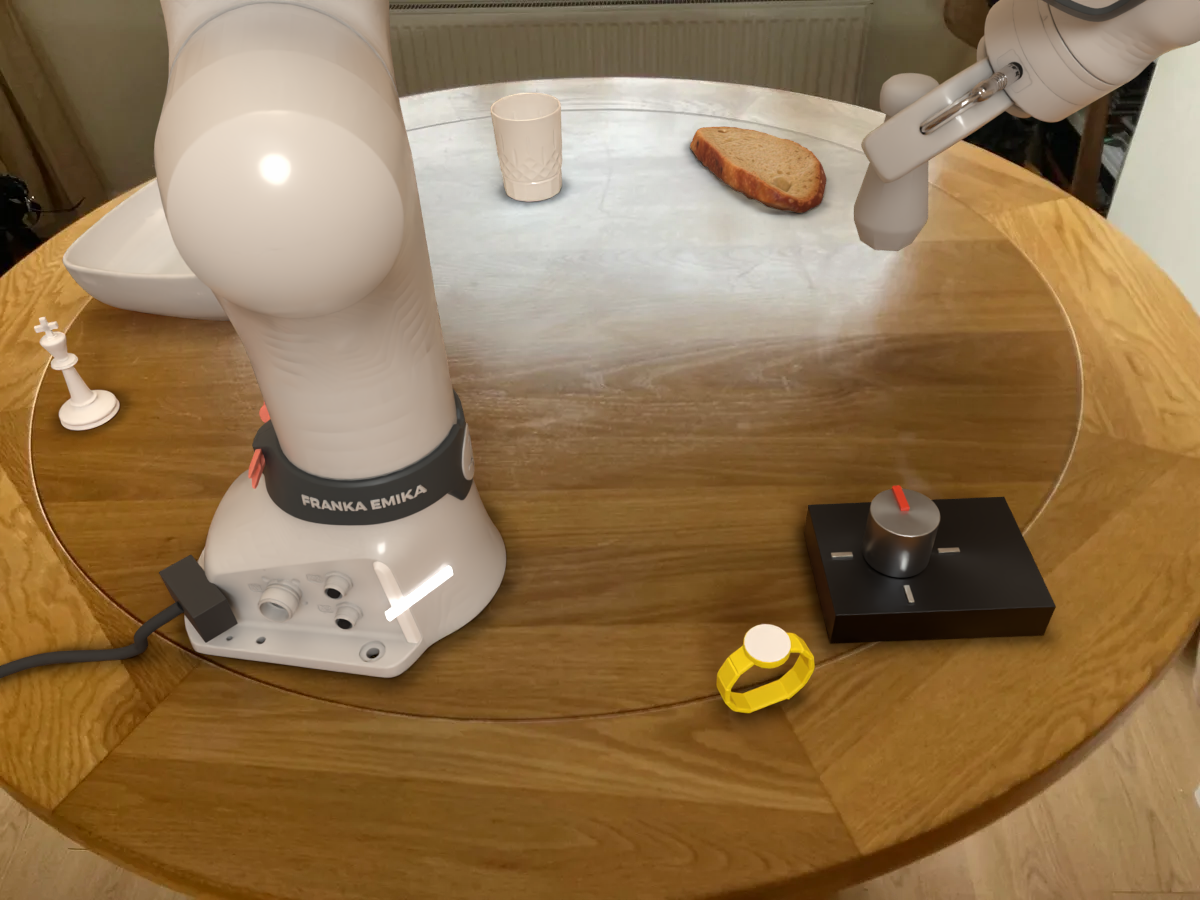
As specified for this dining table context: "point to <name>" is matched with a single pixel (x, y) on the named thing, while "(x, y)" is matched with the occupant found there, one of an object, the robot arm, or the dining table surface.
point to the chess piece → (76, 385)
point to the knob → (900, 532)
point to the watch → (765, 651)
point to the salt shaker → (902, 205)
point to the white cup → (529, 144)
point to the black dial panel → (929, 577)
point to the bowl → (139, 263)
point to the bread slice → (762, 167)
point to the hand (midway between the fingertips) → (893, 150)
